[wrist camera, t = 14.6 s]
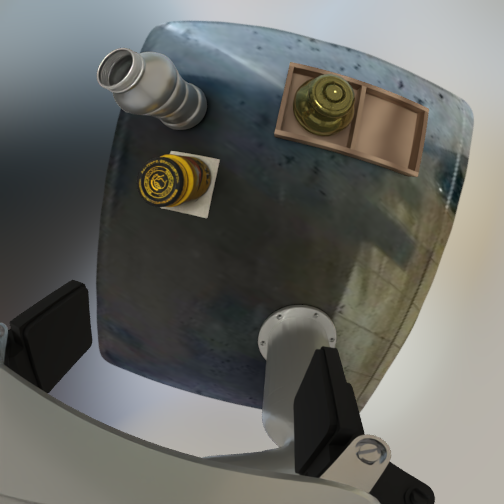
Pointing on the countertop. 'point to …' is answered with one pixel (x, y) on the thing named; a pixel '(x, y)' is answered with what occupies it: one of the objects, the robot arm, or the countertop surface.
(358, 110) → the caddy
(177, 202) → the condiment
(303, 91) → the brass weight
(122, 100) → the plastic bottle
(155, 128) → the countertop surface
